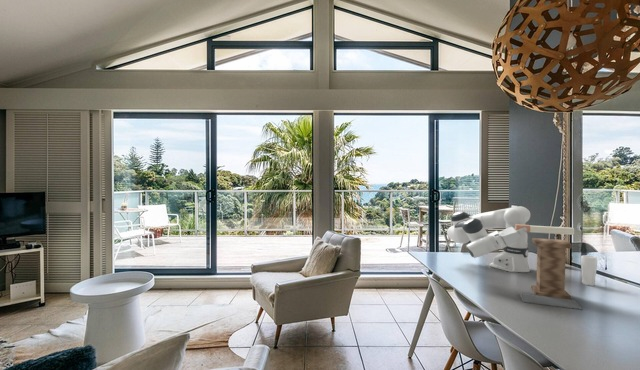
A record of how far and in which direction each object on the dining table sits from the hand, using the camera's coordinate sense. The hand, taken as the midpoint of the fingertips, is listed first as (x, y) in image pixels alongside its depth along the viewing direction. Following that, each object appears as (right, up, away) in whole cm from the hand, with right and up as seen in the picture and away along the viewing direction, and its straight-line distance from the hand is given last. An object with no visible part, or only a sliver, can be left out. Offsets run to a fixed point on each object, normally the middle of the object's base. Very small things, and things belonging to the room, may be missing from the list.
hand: (525, 227), depth 167 cm
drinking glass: (+40, -32, +11) cm, 52 cm away
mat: (+2, -32, -14) cm, 35 cm away
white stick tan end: (+6, -2, -3) cm, 7 cm away
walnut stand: (+10, -32, -3) cm, 34 cm away
